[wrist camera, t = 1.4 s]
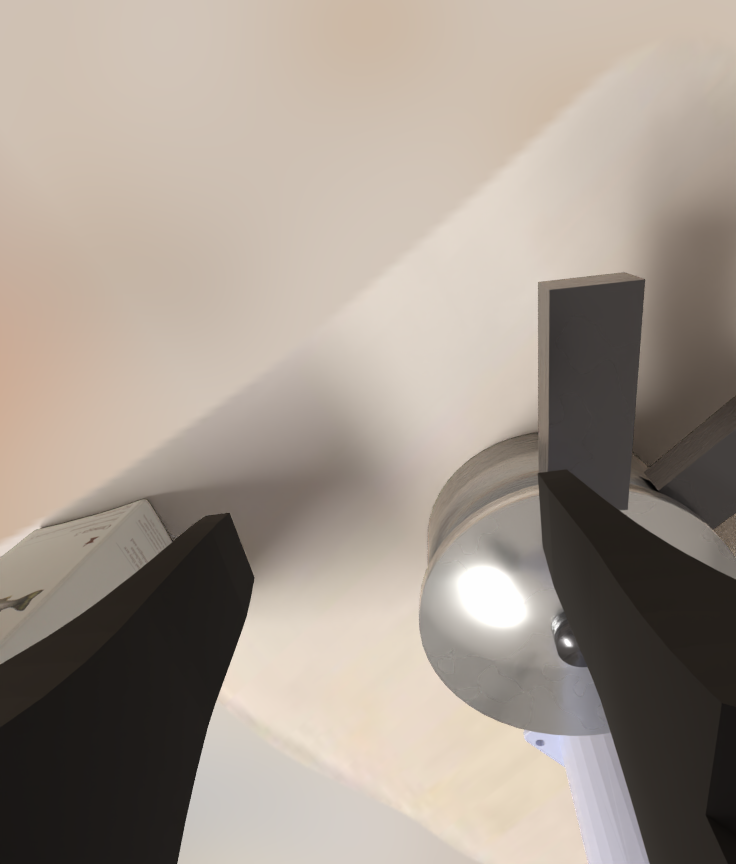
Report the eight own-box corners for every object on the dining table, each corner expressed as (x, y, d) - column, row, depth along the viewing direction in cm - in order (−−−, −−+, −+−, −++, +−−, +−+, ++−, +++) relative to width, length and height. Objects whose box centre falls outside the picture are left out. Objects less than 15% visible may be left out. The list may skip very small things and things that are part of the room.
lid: (715, 719, 21) (739, 762, 20) (431, 717, 23) (431, 756, 21) (801, 252, 14) (849, 257, 13) (384, 299, 16) (379, 309, 14)
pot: (880, 420, 20) (993, 474, 16) (545, 662, 27) (565, 743, 23) (689, 238, 19) (762, 246, 15) (381, 545, 25) (372, 610, 21)
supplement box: (148, 492, 26) (-79, 722, 14) (212, 606, 28) (63, 880, 17) (31, 525, 28) (-257, 754, 16) (101, 630, 30) (-104, 893, 19)
